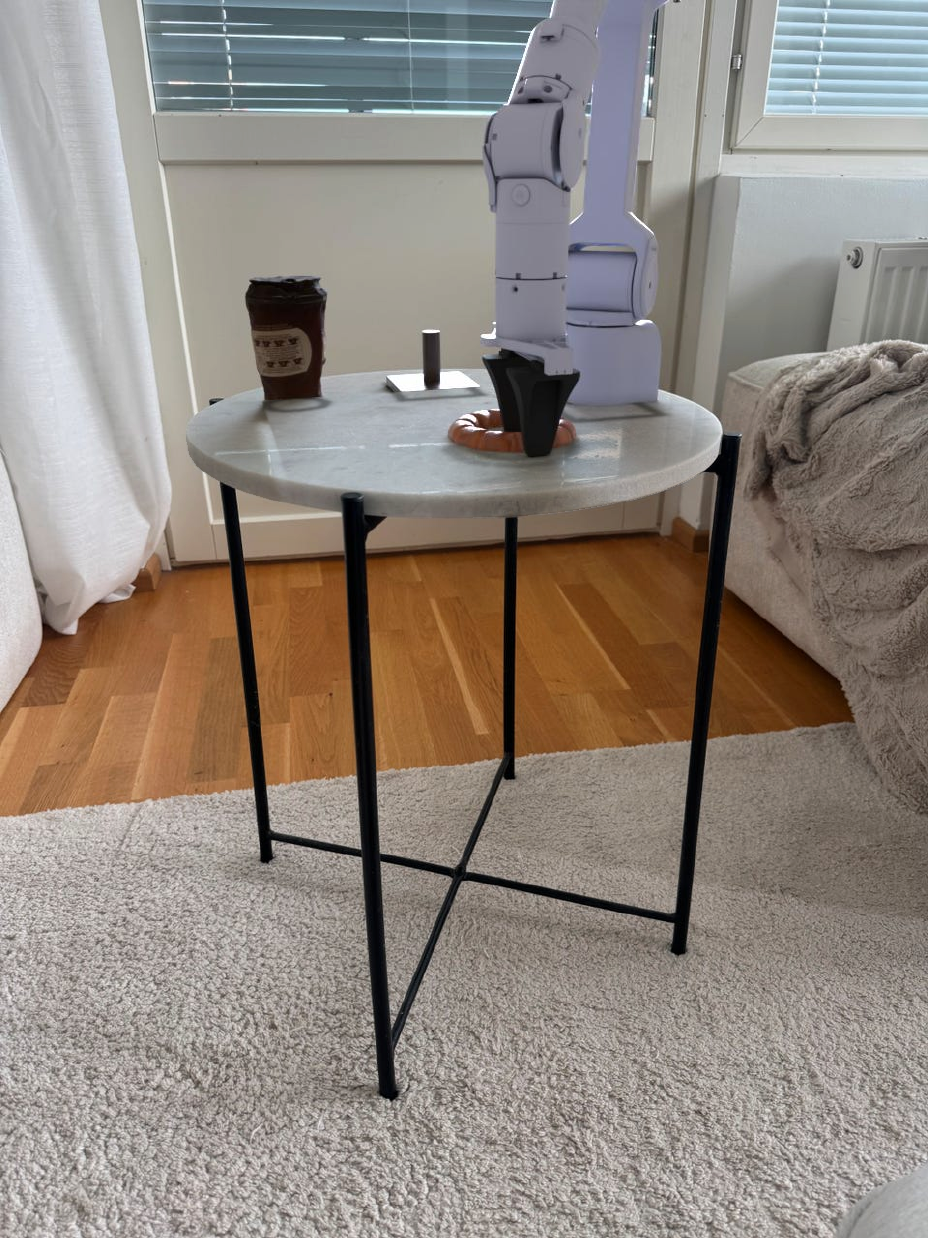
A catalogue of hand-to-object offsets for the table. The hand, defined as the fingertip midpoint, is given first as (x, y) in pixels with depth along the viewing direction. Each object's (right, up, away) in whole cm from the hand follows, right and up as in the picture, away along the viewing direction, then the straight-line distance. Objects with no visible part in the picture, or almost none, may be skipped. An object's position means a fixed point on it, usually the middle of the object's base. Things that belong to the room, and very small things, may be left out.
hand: (527, 445), depth 78 cm
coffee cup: (-24, +8, +21) cm, 33 cm away
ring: (-1, +2, +4) cm, 4 cm away
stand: (-9, +12, +27) cm, 31 cm away
